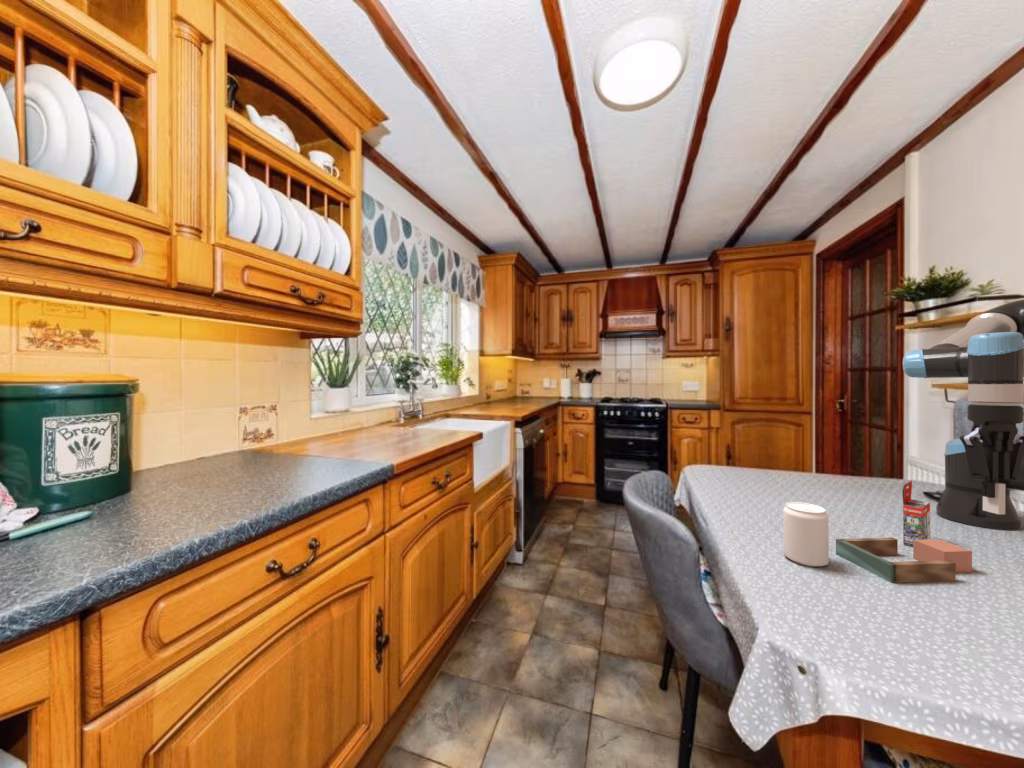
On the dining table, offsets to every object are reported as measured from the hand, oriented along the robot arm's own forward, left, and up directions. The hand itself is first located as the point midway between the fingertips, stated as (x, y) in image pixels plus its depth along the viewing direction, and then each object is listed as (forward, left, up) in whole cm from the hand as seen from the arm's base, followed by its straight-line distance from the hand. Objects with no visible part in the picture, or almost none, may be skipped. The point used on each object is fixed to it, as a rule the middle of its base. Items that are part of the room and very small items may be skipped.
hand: (993, 512), depth 83 cm
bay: (+23, 0, -11) cm, 25 cm away
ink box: (+5, -11, -12) cm, 17 cm away
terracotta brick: (+12, 0, -12) cm, 16 cm away
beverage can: (+39, -4, -12) cm, 41 cm away
